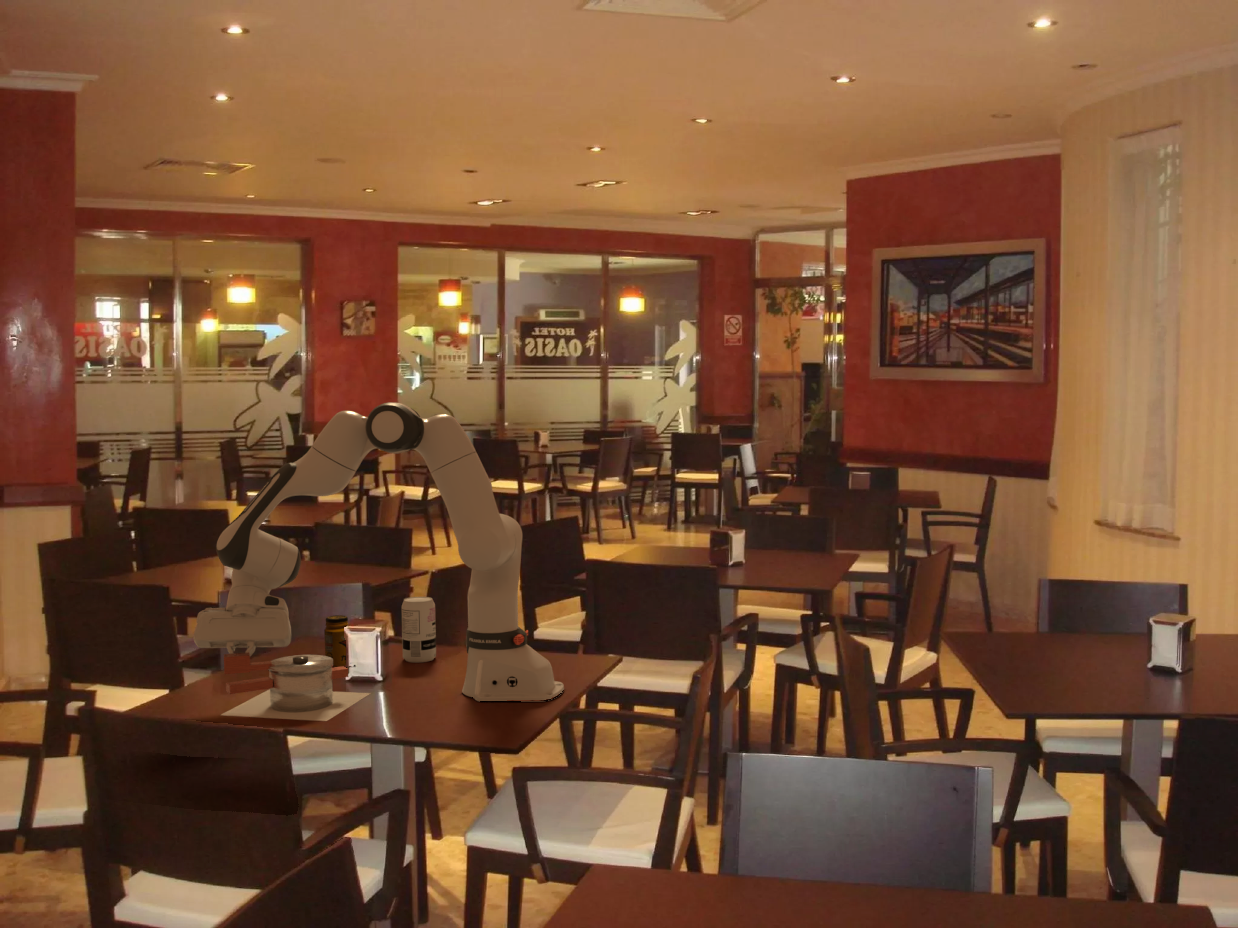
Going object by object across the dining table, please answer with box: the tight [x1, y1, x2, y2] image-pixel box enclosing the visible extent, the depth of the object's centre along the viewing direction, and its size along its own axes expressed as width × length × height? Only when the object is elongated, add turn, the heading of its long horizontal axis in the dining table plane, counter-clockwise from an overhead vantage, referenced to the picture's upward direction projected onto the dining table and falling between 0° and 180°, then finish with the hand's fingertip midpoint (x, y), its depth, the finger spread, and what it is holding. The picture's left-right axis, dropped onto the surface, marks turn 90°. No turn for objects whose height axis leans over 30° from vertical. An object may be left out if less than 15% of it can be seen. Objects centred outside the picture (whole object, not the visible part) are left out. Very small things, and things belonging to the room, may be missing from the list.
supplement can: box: [401, 596, 437, 664], centre depth 315 cm, size 8×8×15 cm
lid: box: [223, 652, 333, 675], centre depth 272 cm, size 22×14×4 cm, turn 108°
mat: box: [220, 688, 372, 722], centre depth 274 cm, size 24×22×1 cm
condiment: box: [324, 614, 349, 667], centre depth 309 cm, size 7×8×12 cm
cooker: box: [225, 666, 349, 712], centre depth 272 cm, size 20×20×8 cm
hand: (238, 662), depth 272 cm, fingers closed
